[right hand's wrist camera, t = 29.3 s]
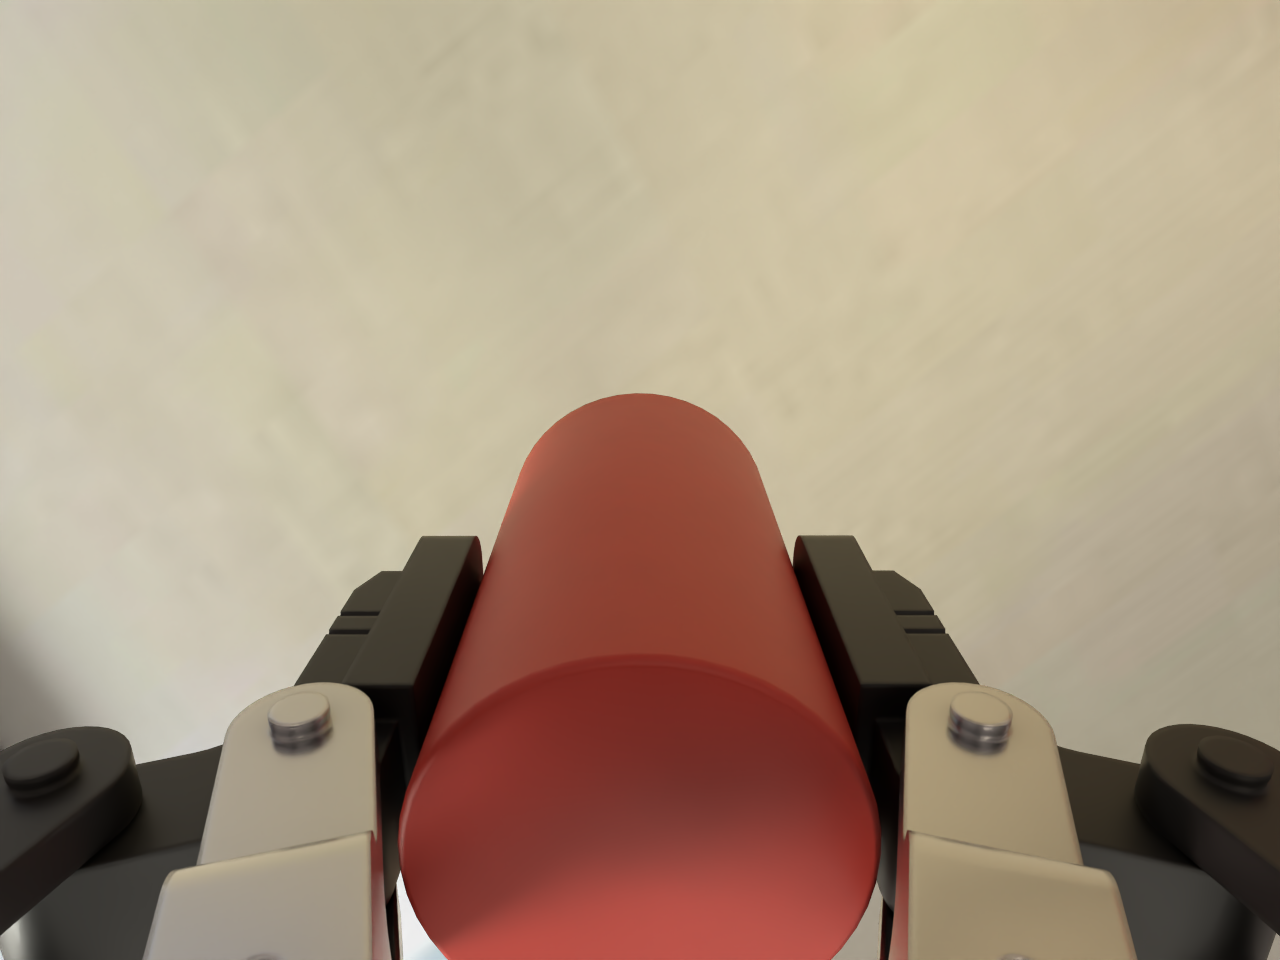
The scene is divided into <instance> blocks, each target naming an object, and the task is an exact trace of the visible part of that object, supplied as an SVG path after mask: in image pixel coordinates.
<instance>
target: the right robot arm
mask: <svg viewBox="0 0 1280 960" xmlns="http://www.w3.org/2000/svg"><path fill="white" fill-rule="evenodd" d="M793 569H794V572H795V575H796V578H797V581H798V583H799V586H800V589H801V592H802V595H803V597H804V600H805V603H806V606H807V609H808V611H809V614H810V617H811V620H812V623H813V625H814V628H815V631H816V634H817V637H818V639H819V642H820V645H821V648H822V651H823V653H824V656H825V659H826V662H827V665H828V667H829V670H830V673H831V676H832V679H833V681H834V684H835V687H836V690H837V693H838V695H839V698H840V701H841V704H842V707H843V709H844V712H845V715H846V718H847V721H848V723H849V726H850V729H851V732H852V735H853V737H854V740H855V743H856V746H857V749H858V751H859V754H860V757H861V760H862V763H863V765H864V768H865V771H866V774H867V777H868V779H869V782H870V785H871V788H872V791H873V794H874V797H875V800H876V802H877V807H878V813H879V819H880V825H881V857H880V863H879V869H878V875H877V883H878V886H879V889H880V891H881V894H882V899H881V906H880V914H879V929H878V947H877V960H1267V957H1268V955H1269V952H1270V949H1271V946H1272V943H1273V940H1274V938H1275V935H1276V933H1277V934H1278V935H1279V936H1280V751H1278V750H1276V749H1275V748H1273V747H1271V746H1269V745H1267V744H1265V743H1263V742H1260V741H1258V740H1256V739H1253V738H1251V737H1248V736H1246V735H1243V734H1240V733H1236V732H1233V731H1230V730H1226V729H1222V728H1218V727H1212V726H1206V725H1196V724H1178V725H1171V726H1167V727H1164V728H1161V729H1158V730H1157V731H1155V732H1153V733H1152V734H1151V735H1150V737H1149V738H1148V739H1147V742H1146V745H1145V749H1144V753H1143V757H1142V760H1141V764H1137V763H1132V762H1127V761H1122V760H1117V759H1112V758H1107V757H1102V756H1097V755H1092V754H1087V753H1083V752H1078V751H1074V750H1070V749H1066V748H1062V747H1059V746H1057V743H1056V739H1055V735H1054V732H1053V729H1052V727H1051V726H1050V724H1049V723H1048V721H1047V720H1046V719H1045V718H1044V716H1043V715H1042V714H1041V713H1040V712H1038V711H1037V710H1036V709H1035V708H1033V707H1032V706H1031V705H1029V704H1028V703H1026V702H1024V701H1023V700H1021V699H1019V698H1017V697H1015V696H1013V695H1011V694H1009V693H1006V692H1003V691H1001V690H998V689H995V688H991V687H988V686H983V685H980V684H979V683H978V681H977V679H976V678H975V676H974V675H973V673H972V671H971V670H970V668H969V667H968V665H967V663H966V662H965V660H964V658H963V657H962V655H961V654H960V652H959V650H958V649H957V647H956V646H955V644H954V642H953V641H952V639H951V638H950V636H949V634H945V628H944V626H943V625H942V623H941V621H940V620H939V618H938V617H937V615H934V610H933V609H932V607H931V605H930V604H929V602H928V600H927V599H926V597H925V596H924V594H923V592H922V591H921V589H919V588H918V587H917V586H915V585H914V584H912V583H911V582H909V581H908V580H906V579H905V578H903V577H902V576H900V575H899V574H898V573H896V572H895V571H872V569H871V567H870V565H869V563H868V561H867V560H866V558H865V556H864V554H863V552H862V550H861V548H860V547H859V545H858V543H857V541H856V539H855V538H854V536H798V537H797V539H796V542H795V547H794V557H793ZM482 578H483V564H482V552H481V545H480V541H479V538H478V537H477V536H422V537H421V538H420V540H419V542H418V544H417V545H416V547H415V549H414V551H413V553H412V555H411V556H410V558H409V560H408V562H407V564H406V566H405V567H404V569H403V571H381V572H380V573H378V574H377V575H376V576H374V577H373V578H371V579H370V580H368V581H367V582H365V583H364V584H362V585H361V586H359V587H358V588H356V589H355V590H354V591H353V593H352V594H351V596H350V598H349V599H348V601H347V602H346V604H345V606H344V607H343V609H342V610H341V615H340V616H338V617H337V618H336V620H335V621H334V623H333V625H332V626H331V628H330V629H329V634H326V636H325V637H324V639H323V640H322V642H321V644H320V645H319V647H318V648H317V650H316V652H315V653H314V655H313V656H312V658H311V659H310V661H309V663H308V664H307V666H306V667H305V669H304V671H303V672H302V674H301V675H300V677H299V678H298V680H297V682H296V683H295V685H294V686H292V687H289V688H285V689H282V690H279V691H277V692H274V693H271V694H269V695H267V696H265V697H263V698H261V699H259V700H257V701H256V702H254V703H252V704H251V705H249V706H248V707H247V708H245V709H244V710H243V711H242V712H240V713H239V714H238V715H237V716H236V718H235V719H234V720H233V721H232V723H231V724H230V726H229V727H228V729H227V732H226V735H225V739H224V743H223V745H220V746H217V747H214V748H211V749H208V750H204V751H200V752H196V753H191V754H186V755H181V756H177V757H172V758H167V759H162V760H157V761H152V762H147V763H142V764H137V765H136V764H135V760H134V756H133V752H132V748H131V745H130V743H129V740H128V739H127V738H126V737H125V736H124V735H123V734H121V733H119V732H118V731H115V730H112V729H109V728H103V727H89V726H85V727H73V728H67V729H61V730H56V731H52V732H48V733H44V734H41V735H38V736H35V737H32V738H29V739H27V740H24V741H22V742H19V743H17V744H15V745H13V746H11V747H9V748H6V749H4V750H2V751H1V752H0V949H1V952H2V955H3V958H4V960H403V947H402V929H401V914H400V906H399V899H398V891H397V884H396V882H397V879H398V876H399V873H400V870H401V869H400V863H399V852H398V830H399V818H400V813H401V809H402V805H403V801H404V797H405V794H406V790H407V787H408V785H409V782H410V779H411V776H412V773H413V771H414V768H415V765H416V762H417V759H418V757H419V754H420V751H421V748H422V745H423V743H424V740H425V737H426V734H427V731H428V729H429V726H430V723H431V720H432V718H433V715H434V712H435V709H436V706H437V704H438V701H439V698H440V695H441V692H442V690H443V687H444V684H445V681H446V678H447V676H448V673H449V670H450V667H451V664H452V662H453V659H454V656H455V653H456V651H457V648H458V645H459V642H460V639H461V637H462V634H463V631H464V628H465V625H466V623H467V620H468V617H469V614H470V611H471V609H472V606H473V603H474V600H475V597H476V595H477V592H478V589H479V586H480V584H481V581H482Z"/></svg>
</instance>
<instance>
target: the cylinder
mask: <svg viewBox="0 0 1280 960" xmlns="http://www.w3.org/2000/svg"><path fill="white" fill-rule="evenodd" d="M398 852H399V863H400V869H401V874H402V878H403V881H404V885H405V889H406V893H407V896H408V898H409V901H410V903H411V905H412V908H413V910H414V912H415V915H416V917H417V919H418V920H419V922H420V923H421V925H422V927H423V928H424V930H425V931H426V933H427V935H428V936H429V938H430V939H431V940H432V942H433V943H434V944H435V945H436V946H437V948H438V949H439V950H440V951H441V952H442V954H443V955H444V956H445V957H446V958H447V959H448V960H831V959H832V958H833V957H834V956H835V955H836V954H837V953H838V952H839V951H840V950H841V949H842V947H843V946H844V944H845V943H846V942H847V940H848V939H849V938H850V936H851V935H852V933H853V932H854V931H855V929H856V928H857V926H858V924H859V922H860V920H861V918H862V916H863V915H864V913H865V911H866V909H867V907H868V904H869V902H870V899H871V896H872V893H873V890H874V887H875V884H876V880H877V875H878V869H879V863H880V857H881V825H880V819H879V813H878V807H877V802H876V800H875V797H874V794H873V791H872V788H871V785H870V782H869V779H868V777H867V774H866V771H865V768H864V765H863V763H862V760H861V757H860V754H859V751H858V749H857V746H856V743H855V740H854V737H853V735H852V732H851V729H850V726H849V723H848V721H847V718H846V715H845V712H844V709H843V707H842V704H841V701H840V698H839V695H838V693H837V690H836V687H835V684H834V681H833V679H832V676H831V673H830V670H829V667H828V665H827V662H826V659H825V656H824V653H823V651H822V648H821V645H820V642H819V639H818V637H817V634H816V631H815V628H814V625H813V623H812V620H811V617H810V614H809V611H808V609H807V606H806V603H805V600H804V597H803V595H802V592H801V589H800V586H799V583H798V581H797V578H796V575H795V572H794V569H793V567H792V564H791V561H790V558H789V555H788V553H787V550H786V547H785V544H784V541H783V539H782V536H781V533H780V530H779V527H778V524H777V522H776V519H775V516H774V513H773V510H772V508H771V505H770V502H769V499H768V496H767V494H766V491H765V488H764V485H763V482H762V480H761V477H760V474H759V471H758V468H757V466H756V464H755V462H754V460H753V458H752V456H751V454H750V452H749V451H748V450H747V448H746V447H745V445H744V444H743V443H742V441H741V440H740V439H739V438H738V436H737V435H736V434H735V433H734V432H733V431H732V430H731V429H730V428H729V427H728V426H727V425H725V424H724V423H723V422H722V421H720V420H719V419H718V418H717V417H715V416H714V415H712V414H710V413H709V412H707V411H705V410H704V409H702V408H700V407H698V406H695V405H693V404H691V403H688V402H686V401H683V400H679V399H676V398H673V397H669V396H662V395H656V394H638V393H634V394H624V395H616V396H612V397H607V398H603V399H600V400H597V401H594V402H591V403H589V404H586V405H584V406H582V407H580V408H578V409H576V410H574V411H572V412H570V413H569V414H567V415H566V416H565V417H563V418H562V419H560V420H559V421H557V422H556V423H555V424H554V425H553V426H552V427H551V428H550V429H549V430H548V431H546V432H545V433H544V435H543V436H542V437H541V438H540V439H539V441H538V442H537V443H536V444H535V446H534V447H533V449H532V450H531V452H530V454H529V455H528V457H527V459H526V461H525V463H524V465H523V467H522V470H521V472H520V475H519V477H518V480H517V483H516V486H515V489H514V491H513V494H512V497H511V500H510V503H509V505H508V508H507V511H506V514H505V516H504V519H503V522H502V525H501V528H500V530H499V533H498V536H497V539H496V542H495V544H494V547H493V550H492V553H491V556H490V558H489V561H488V564H487V567H486V570H485V572H484V575H483V578H482V581H481V584H480V586H479V589H478V592H477V595H476V597H475V600H474V603H473V606H472V609H471V611H470V614H469V617H468V620H467V623H466V625H465V628H464V631H463V634H462V637H461V639H460V642H459V645H458V648H457V651H456V653H455V656H454V659H453V662H452V664H451V667H450V670H449V673H448V676H447V678H446V681H445V684H444V687H443V690H442V692H441V695H440V698H439V701H438V704H437V706H436V709H435V712H434V715H433V718H432V720H431V723H430V726H429V729H428V731H427V734H426V737H425V740H424V743H423V745H422V748H421V751H420V754H419V757H418V759H417V762H416V765H415V768H414V771H413V773H412V776H411V779H410V782H409V785H408V787H407V790H406V794H405V797H404V801H403V805H402V809H401V813H400V818H399V830H398Z"/></svg>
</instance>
